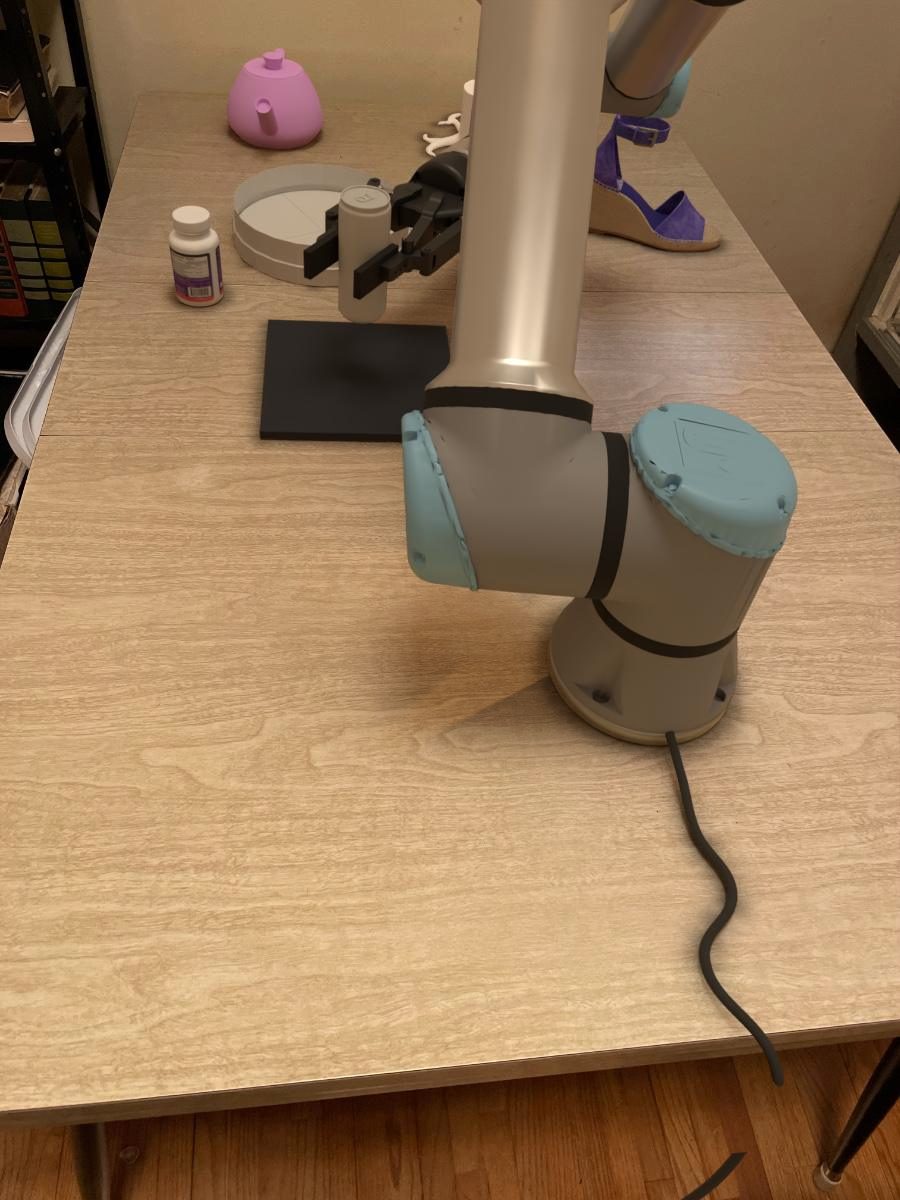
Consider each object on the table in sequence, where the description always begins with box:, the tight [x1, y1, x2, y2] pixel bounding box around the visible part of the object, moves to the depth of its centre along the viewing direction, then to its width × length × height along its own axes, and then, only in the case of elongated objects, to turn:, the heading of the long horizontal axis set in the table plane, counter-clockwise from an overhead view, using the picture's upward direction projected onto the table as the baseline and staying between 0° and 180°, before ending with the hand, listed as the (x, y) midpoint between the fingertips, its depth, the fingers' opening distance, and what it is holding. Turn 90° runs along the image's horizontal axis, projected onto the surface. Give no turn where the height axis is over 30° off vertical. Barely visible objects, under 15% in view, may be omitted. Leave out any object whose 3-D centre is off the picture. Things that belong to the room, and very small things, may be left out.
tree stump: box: [422, 79, 475, 157], centre depth 143 cm, size 20×19×8 cm
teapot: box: [226, 47, 324, 150], centre depth 138 cm, size 14×20×11 cm
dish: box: [232, 163, 412, 288], centre depth 120 cm, size 22×22×5 cm
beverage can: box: [337, 185, 391, 324], centre depth 92 cm, size 5×5×12 cm
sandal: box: [588, 114, 723, 253], centre depth 126 cm, size 8×20×15 cm, turn 78°
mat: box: [259, 318, 451, 443], centre depth 102 cm, size 20×20×1 cm
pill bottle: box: [168, 205, 224, 308], centre depth 107 cm, size 5×5×10 cm
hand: (331, 275), depth 88 cm, fingers closed on beverage can, 5 cm apart
